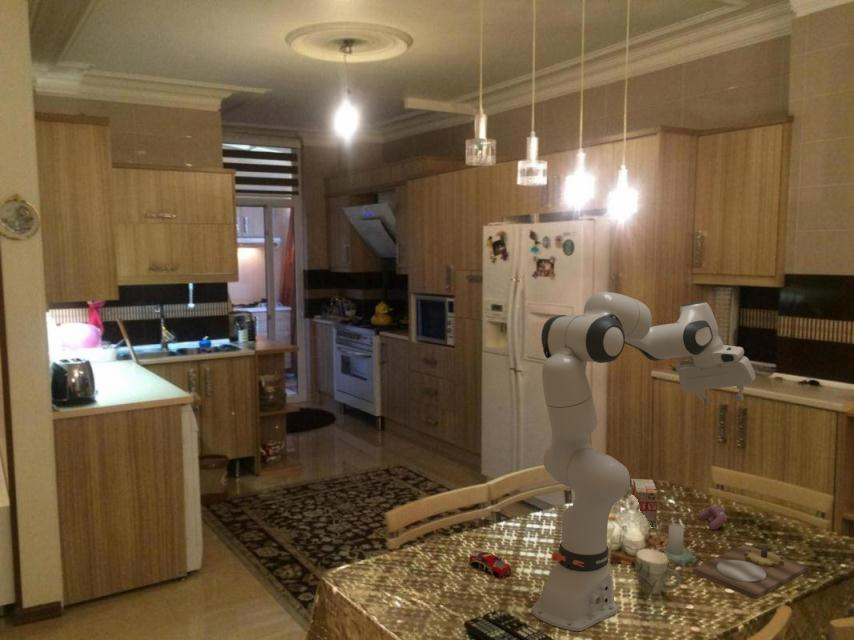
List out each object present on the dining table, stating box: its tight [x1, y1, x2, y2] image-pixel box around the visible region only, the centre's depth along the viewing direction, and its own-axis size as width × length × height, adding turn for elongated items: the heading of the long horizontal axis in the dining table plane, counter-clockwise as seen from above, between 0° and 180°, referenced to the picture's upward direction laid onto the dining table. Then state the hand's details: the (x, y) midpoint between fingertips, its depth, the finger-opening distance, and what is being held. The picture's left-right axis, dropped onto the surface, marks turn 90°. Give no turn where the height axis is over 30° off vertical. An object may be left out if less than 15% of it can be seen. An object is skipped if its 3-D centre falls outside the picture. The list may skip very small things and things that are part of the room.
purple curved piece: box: [698, 504, 728, 531], centre depth 222 cm, size 10×5×7 cm, turn 179°
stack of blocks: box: [630, 478, 658, 528], centre depth 229 cm, size 21×6×12 cm, turn 168°
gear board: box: [691, 544, 809, 600], centre depth 190 cm, size 26×18×5 cm
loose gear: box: [662, 523, 696, 567], centre depth 199 cm, size 11×11×9 cm
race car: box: [469, 551, 512, 579], centre depth 193 cm, size 13×5×4 cm, turn 41°
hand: (723, 401), depth 198 cm, fingers open, 8 cm apart
